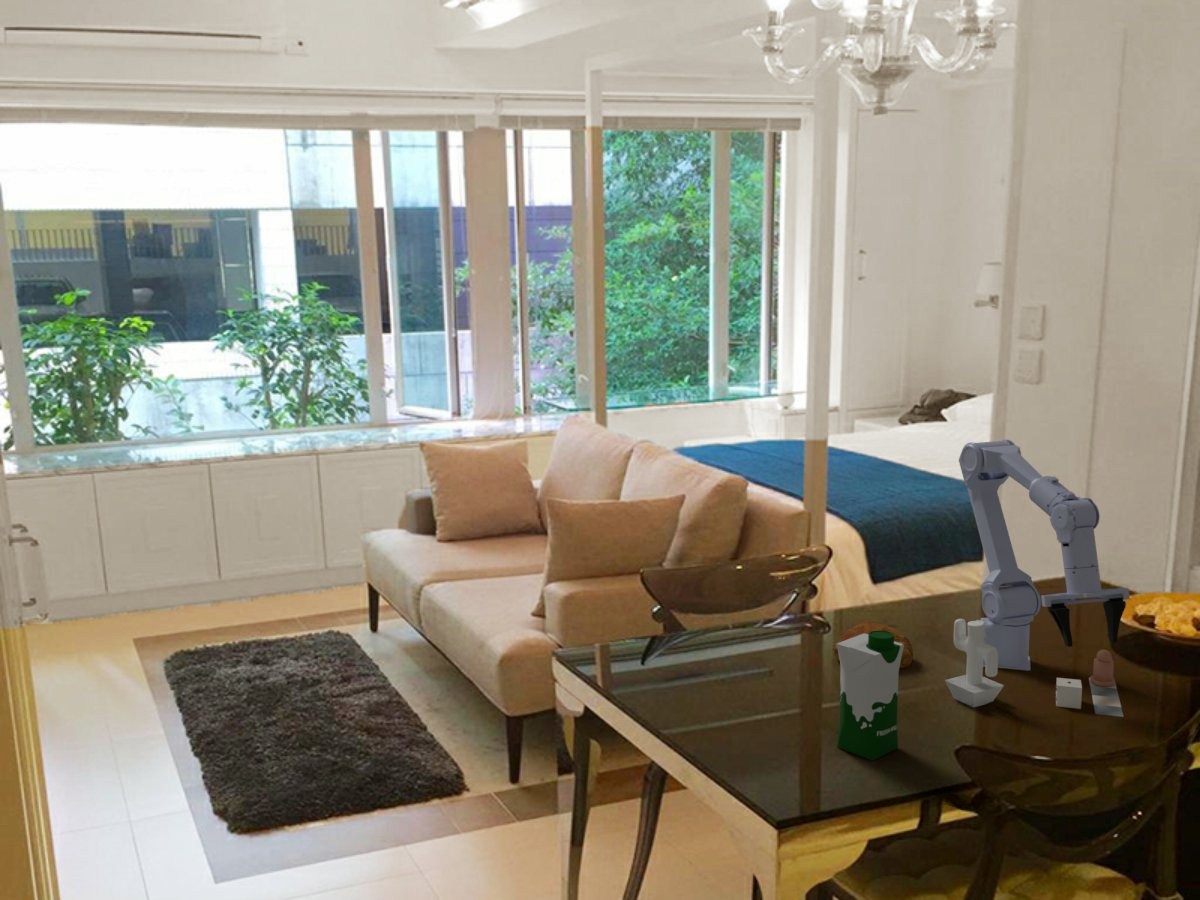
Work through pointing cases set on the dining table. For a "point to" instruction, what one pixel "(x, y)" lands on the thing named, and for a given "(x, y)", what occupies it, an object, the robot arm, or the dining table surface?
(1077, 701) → the die
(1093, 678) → the pawn
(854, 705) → the milk carton
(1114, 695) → the board
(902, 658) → the croissant
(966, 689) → the figurine
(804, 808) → the dining table surface
